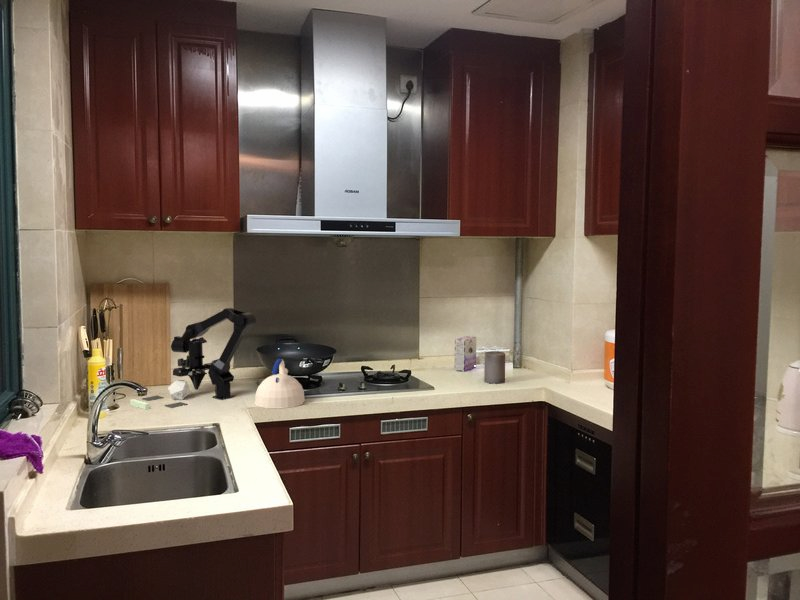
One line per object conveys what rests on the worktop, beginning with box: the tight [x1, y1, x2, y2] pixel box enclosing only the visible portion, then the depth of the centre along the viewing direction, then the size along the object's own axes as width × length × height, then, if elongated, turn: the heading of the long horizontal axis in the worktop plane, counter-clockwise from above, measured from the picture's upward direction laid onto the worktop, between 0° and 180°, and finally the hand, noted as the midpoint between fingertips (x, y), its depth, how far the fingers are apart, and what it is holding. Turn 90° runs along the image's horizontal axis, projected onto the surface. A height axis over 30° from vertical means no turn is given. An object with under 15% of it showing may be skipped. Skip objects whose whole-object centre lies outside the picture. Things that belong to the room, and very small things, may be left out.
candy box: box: [454, 335, 477, 373], centre depth 332 cm, size 14×6×16 cm, turn 147°
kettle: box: [254, 358, 306, 410], centre depth 262 cm, size 20×21×18 cm
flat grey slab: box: [129, 394, 188, 410], centre depth 261 cm, size 23×15×2 cm, turn 50°
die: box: [167, 379, 192, 401], centre depth 269 cm, size 8×9×10 cm
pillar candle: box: [483, 350, 506, 385], centre depth 301 cm, size 10×10×15 cm
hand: (196, 389), depth 275 cm, fingers closed
